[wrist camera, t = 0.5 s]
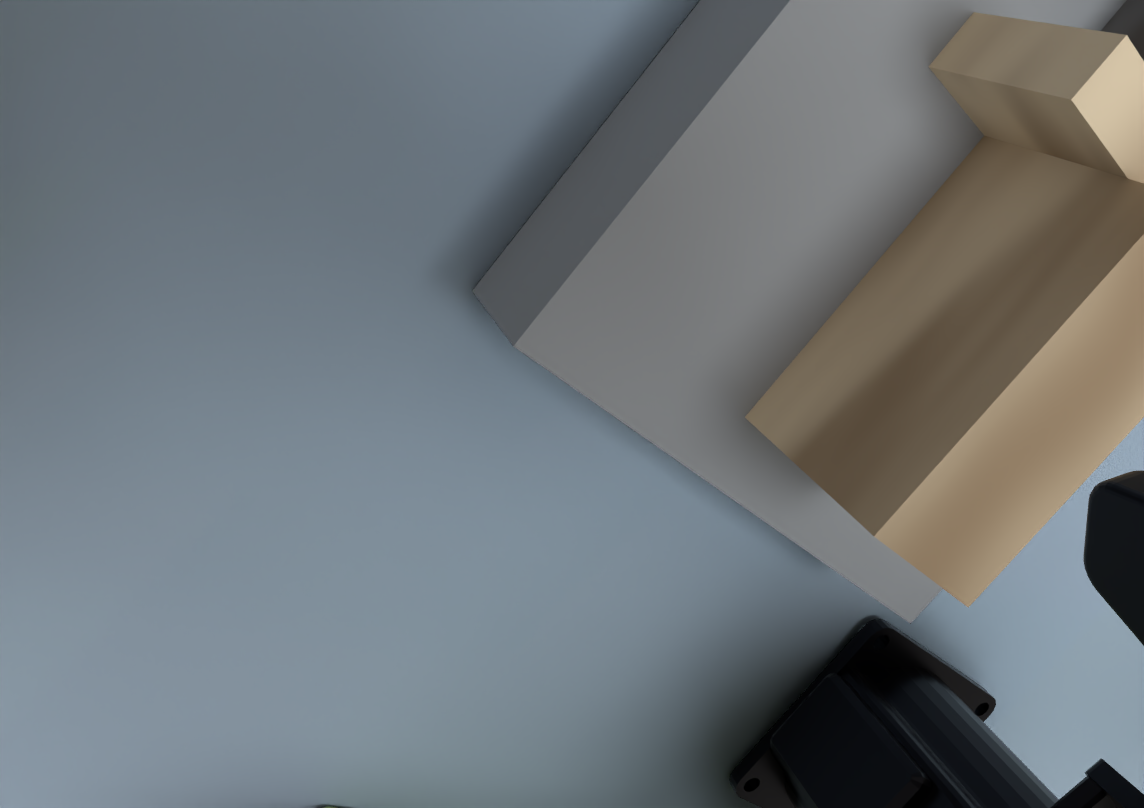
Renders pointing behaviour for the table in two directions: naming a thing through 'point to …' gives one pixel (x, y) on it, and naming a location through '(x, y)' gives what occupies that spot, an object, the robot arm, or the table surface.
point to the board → (746, 234)
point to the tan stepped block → (991, 312)
